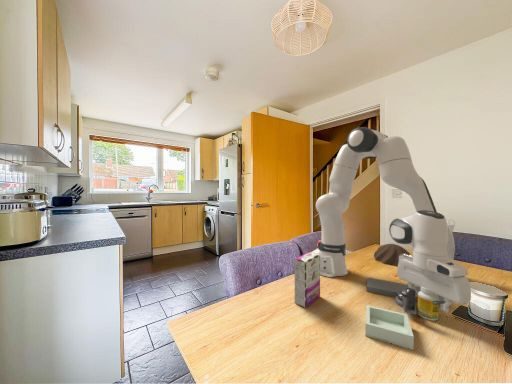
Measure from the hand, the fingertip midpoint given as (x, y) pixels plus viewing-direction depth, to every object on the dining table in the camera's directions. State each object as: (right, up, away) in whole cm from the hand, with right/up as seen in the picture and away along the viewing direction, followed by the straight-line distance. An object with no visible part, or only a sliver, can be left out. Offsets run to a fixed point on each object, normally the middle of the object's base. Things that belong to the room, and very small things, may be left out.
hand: (428, 303), depth 70 cm
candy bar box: (-37, -4, +10) cm, 39 cm away
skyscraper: (+33, -4, +31) cm, 46 cm away
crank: (-4, -2, +3) cm, 6 cm away
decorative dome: (+23, -4, +54) cm, 58 cm away
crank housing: (0, -4, +12) cm, 13 cm away
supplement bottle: (0, -5, 0) cm, 5 cm away
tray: (-18, -4, -7) cm, 20 cm away
